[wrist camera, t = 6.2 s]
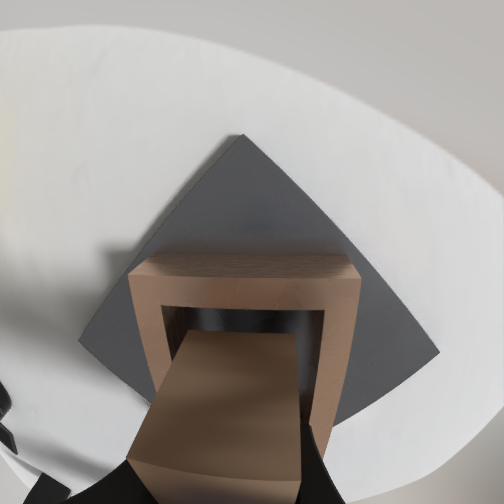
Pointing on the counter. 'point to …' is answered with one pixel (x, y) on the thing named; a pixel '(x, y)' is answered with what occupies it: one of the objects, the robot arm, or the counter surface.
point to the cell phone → (7, 438)
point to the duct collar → (261, 293)
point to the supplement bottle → (4, 402)
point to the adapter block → (224, 423)
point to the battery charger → (47, 492)
